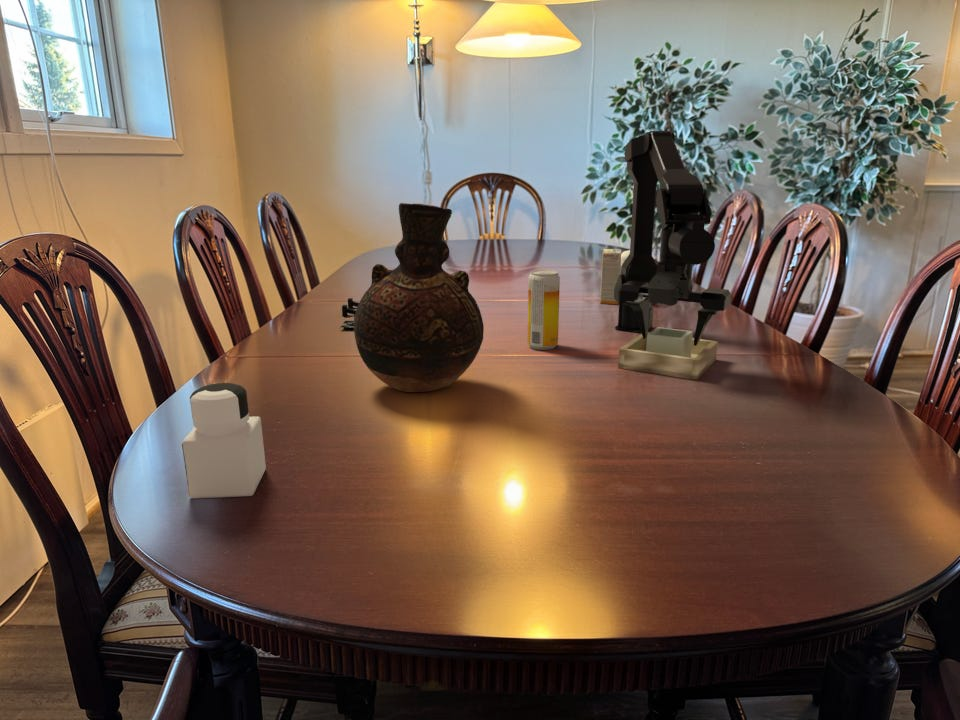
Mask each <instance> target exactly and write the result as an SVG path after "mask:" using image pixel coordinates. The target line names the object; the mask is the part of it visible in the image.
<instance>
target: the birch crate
mask: <svg viewBox="0 0 960 720" xmlns="http://www.w3.org/2000/svg"><path fill="white" fill-rule="evenodd" d="M649 333H650V332H648V334H649ZM718 342H719V341H718V340H717V341H715V340H711V339H710V340H709V339H703V338H700V340H699V342H698V344H697V345H696V346H694V337H692V348H691V358H689V357H682V356H675V355H668V354H661V353H654V352H647V351H646V343H647V338H646V339H643V336H642V333H640V334H639V335H638V336H636V337H635V338H633V339H632V340H630V341H629V342H627V343H626V344H625V345H623V346H622V347H620V348H619V349H618V366H617V367H618V368H619V369H622V370H629V371H636V372H643V373H648V374H649V373H650V374H654V375H661V376H662V375H663V376H668V377H674V378H680V379H687V380H695V381H698V380H699V379H700V378H701V377H702V375H704V373H706V372H707V370H708V369H709V368H710V367H711V366H712V365H713V364H714V362H715V361H716V360H717V356H718V355H717V353H718V344H719V343H718Z"/></svg>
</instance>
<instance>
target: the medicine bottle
mask: <svg viewBox="0 0 960 720" xmlns="http://www.w3.org/2000/svg"><path fill="white" fill-rule="evenodd" d="M248 401H249V400H248V393H247V390H246V388H245V387H244V386H242V385H239V384H236V383H232V382H219V383H218V382H217V383H211V384H206V385H204V386H202V387H199V388H197V389H196V390H194V391H193V392H192V393H191V395H190V396H189V403H190V409H191V417H192V424H193V428H192V429H191V430H190V432H189V433H188V434H187V435H186V437H185V438H184V439H183V440H182V441H181V446H182V447H181V448H182V453H183V454H182V455H183V462H184V469H185V475H186V482H187V488H188V495H189V498H190V499H211V498H213V499H214V498H216V499H217V498H231V497H232V498H233V497H236V498H237V497H252V496H254V494H255V492H256V490H257V488H258V485H259V484H260V482H261V479H262V478H263V476H264V473H265V471H266V468H267V467H266V466H267V465H266V458H265V457H266V455H265V449H264V438H263V437H264V436H263V428H262V419H261V417H260V416H250V412H249V404H248V403H249V402H248Z"/></svg>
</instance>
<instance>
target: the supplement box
mask: <svg viewBox="0 0 960 720" xmlns="http://www.w3.org/2000/svg"><path fill="white" fill-rule="evenodd" d="M621 254H622V249H621V248H619V249H618V248H603V250H602V256H601V270H600V271H601V274H600V275H601V277H600V292H599V293H600V295H599V296H600V297H599V298H600V299H599V303H600V304H606V305H607V304H608V305H619V303H618V302H617V301H616V300H615V299H614V288H615V285H616V282H617V279H618V276H619V275H621V274H620V272H621Z"/></svg>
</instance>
